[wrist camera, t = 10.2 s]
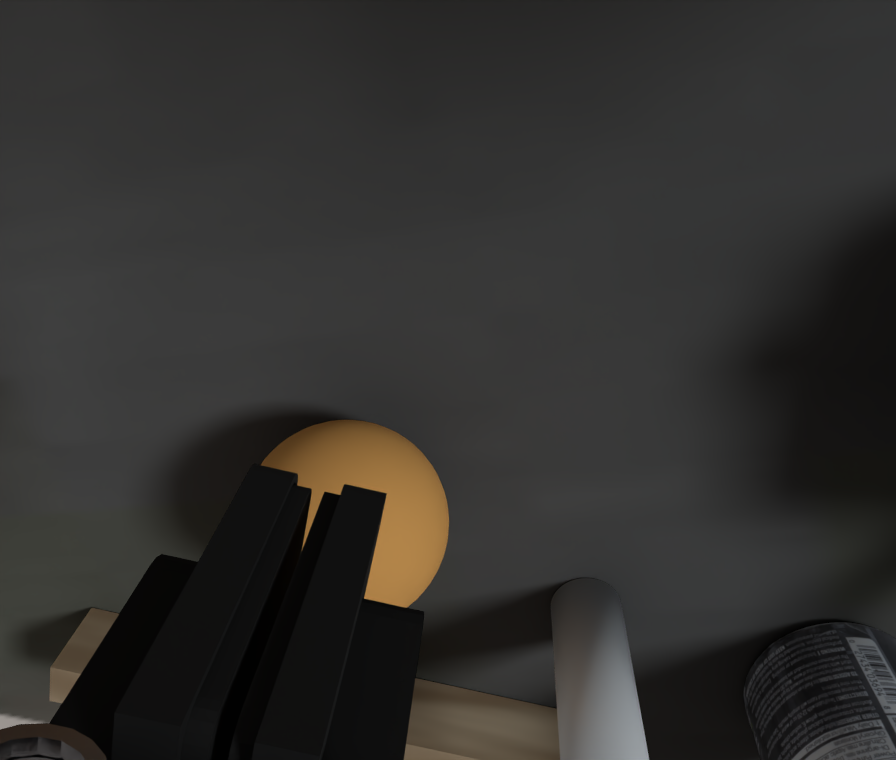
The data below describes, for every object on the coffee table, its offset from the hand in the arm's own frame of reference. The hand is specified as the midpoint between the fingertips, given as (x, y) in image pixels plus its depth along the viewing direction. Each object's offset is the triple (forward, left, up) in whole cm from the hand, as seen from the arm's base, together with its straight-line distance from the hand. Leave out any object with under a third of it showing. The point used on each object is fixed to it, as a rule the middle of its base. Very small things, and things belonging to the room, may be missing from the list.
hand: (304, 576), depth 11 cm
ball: (+8, 0, -12) cm, 14 cm away
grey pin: (+11, +8, -15) cm, 20 cm away
